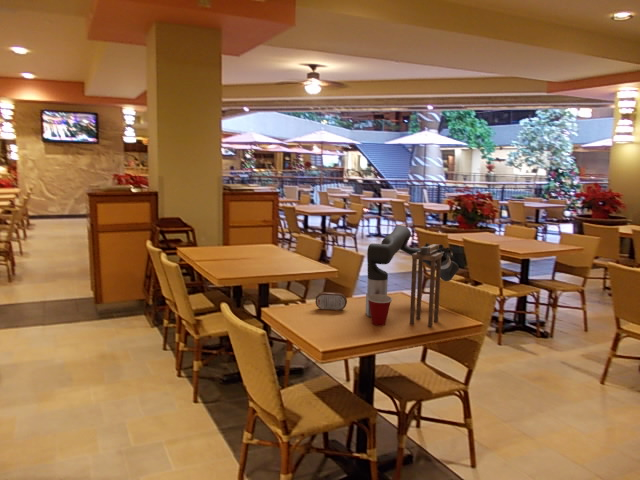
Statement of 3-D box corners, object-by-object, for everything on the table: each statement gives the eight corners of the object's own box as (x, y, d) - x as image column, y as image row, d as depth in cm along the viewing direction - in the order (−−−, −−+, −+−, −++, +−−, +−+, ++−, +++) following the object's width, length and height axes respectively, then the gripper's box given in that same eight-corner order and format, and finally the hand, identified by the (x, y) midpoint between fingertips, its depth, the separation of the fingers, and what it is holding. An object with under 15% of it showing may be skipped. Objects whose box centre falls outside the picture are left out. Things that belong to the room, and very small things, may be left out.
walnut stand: (409, 323, 232) (412, 251, 227) (416, 317, 241) (419, 248, 237) (431, 327, 227) (435, 253, 223) (438, 321, 236) (441, 250, 232)
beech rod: (420, 254, 226) (420, 247, 226) (432, 249, 242) (432, 242, 242) (427, 255, 225) (427, 248, 225) (439, 249, 241) (439, 242, 240)
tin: (346, 309, 253) (347, 292, 252) (346, 311, 250) (346, 294, 249) (315, 308, 255) (315, 291, 254) (314, 310, 252) (315, 292, 251)
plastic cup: (371, 328, 224) (372, 300, 223) (363, 321, 235) (363, 294, 233) (395, 326, 227) (396, 299, 226) (385, 319, 238) (386, 293, 236)
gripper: (428, 250, 256) (419, 236, 242) (458, 253, 249) (450, 238, 235) (425, 264, 253) (416, 251, 240) (455, 267, 247) (447, 254, 233)
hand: (433, 245), depth 237 cm, fingers open, 5 cm apart
